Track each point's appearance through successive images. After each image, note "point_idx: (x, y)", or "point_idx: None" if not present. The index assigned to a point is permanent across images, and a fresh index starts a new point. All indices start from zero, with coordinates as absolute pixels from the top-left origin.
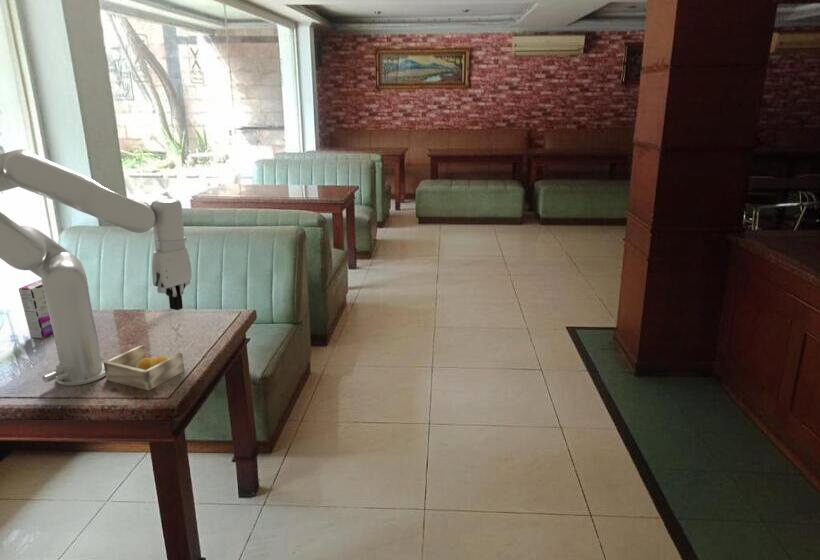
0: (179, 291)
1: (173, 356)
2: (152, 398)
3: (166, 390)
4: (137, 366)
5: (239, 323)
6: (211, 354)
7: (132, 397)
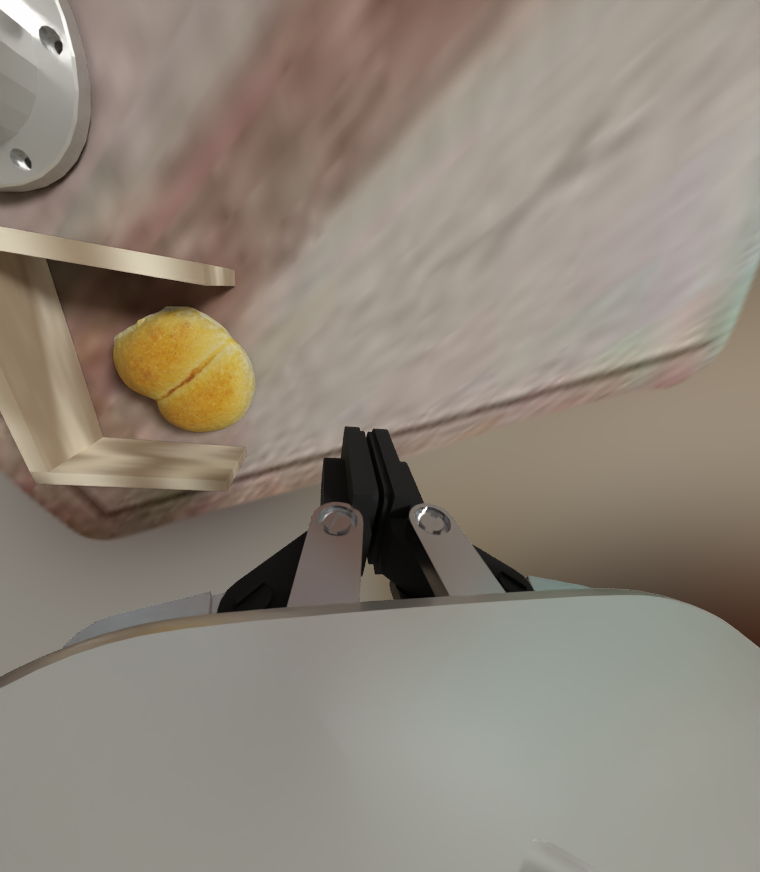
0: (397, 597)
1: (192, 481)
2: None
3: None
4: (115, 347)
5: (597, 399)
6: None
7: None
